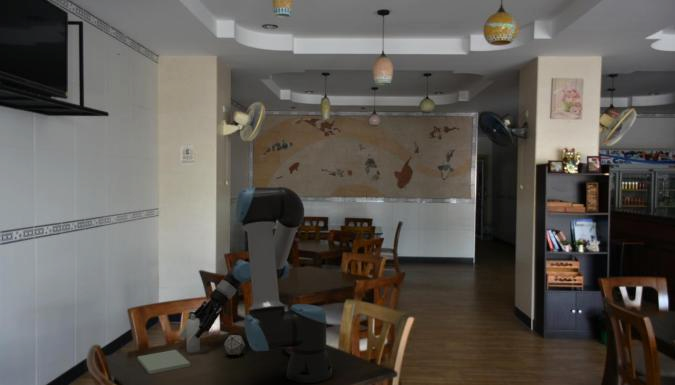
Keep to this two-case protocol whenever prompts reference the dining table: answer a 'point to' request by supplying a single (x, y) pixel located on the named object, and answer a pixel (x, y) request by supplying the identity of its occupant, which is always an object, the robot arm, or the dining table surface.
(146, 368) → the sage board
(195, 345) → the grey bottle
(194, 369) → the dining table surface
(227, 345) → the game die
